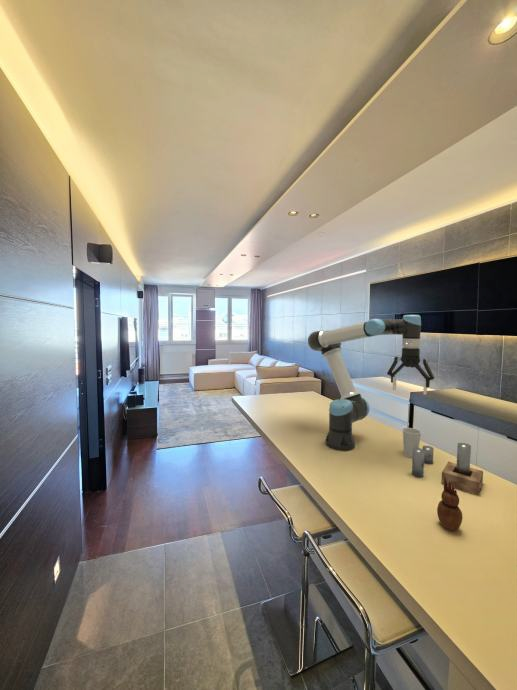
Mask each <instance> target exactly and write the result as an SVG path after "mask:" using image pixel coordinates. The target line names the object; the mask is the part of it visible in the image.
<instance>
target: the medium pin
mask: <svg viewBox="0 0 517 690" xmlns="http://www.w3.org/2000/svg"><path fill="white" fill-rule="evenodd" d="M424 452H425V451H424V450H423V448H421V447H419V448H413V454H412V457H411V460H412V461H411V475H412V476H413V477H415V478H418V479H419V478H420V479H421V478H423V477H424V474H425V472H424V471H425V470H424V469H425V463H424Z"/></svg>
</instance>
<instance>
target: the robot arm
mask: <svg viewBox="0 0 517 690" xmlns="http://www.w3.org/2000/svg"><path fill="white" fill-rule="evenodd" d="M421 329H422V318H421V315H419V314H404V315H403V316H402V318H401V319H399V318H398V319H395V318H394V319H393V318H389V319H388V318H371V319H369V320H368V321H364V322H359V323H354V324H351V325H347V326H343V327H339V328H334V329H330V330H323V329H322V330H317V331H313V332H311V333H310V334H309V335H308V338H307V344H308V347H309V348H310V349H311V350H313V351H316V352H320V353H321V355H322V357H324V358H326V360H327V361H326V362H327V363H328V366H329V368H330V371H331V374H332V376H333V378H334V381H335V383H336V386H337V388H338V391H339V393H340V398H339V399H334V400H332V401H331V402H330V403H329V407H328V411H329V414H328V415H329V416H328V418H329V423H328V425H329V426H328V432H327V434H326V438H325V446H326V447H328V448H329V449H332V450H336V451H340V452H341V451H343V452H347V451H351V450H354V449H355V448H356V440H355V438H354V435H353V423H356V422H358V421H361V420H363V419H365V418H366V417H367V416H368V415H369V412H370V404H369V402H368V401H367V400H366V398H363V397H362V395H361V393H360V392H358V391H357V390H356V388H355V386H354V382H353V380H352V378H351V376H350V374H349V370H348V369H347V366H346V363H345V361H344V359H343V356H342V354H341V351H342V346H341V345H342V343H345V342H350V341H355V340H360V339H365V338H370V337H371V338H372V337H375V336H376V337H377V336H383V335H384V336H385V335H386V336H388V335H389V336H390V335H391V336H392V335H397V336H398V335H399V336H400V335H402V339H401V341H402V343H401V346H402V348H401V357H400V356H394V358H393V362H392V364H391V365H390V367H389V369H388V370H387V372H386V374H387V375H388V376H389V377H390V383H392V391H396V390H397V374H398V373H399V372H400V371H401V370H402V369H403V368H404V367H406V368H412V369H413V368H415V369H416V370H417V371H418V373H420V375H421V376H422V377H423V379H424V380H423V395H424V396H426V395H427V394H428V388H430V383H431V382H430V381H433V380H434V379H435V376H434V374H433V372H432V370H431V368H430V366H429V364H428V358H420V354H421V353H420V352H421V349H420V347H421V332H422V331H421ZM400 361H401V364H400V365H399V366H398V367H397V364H398V362H400ZM420 363H422V364H423V366H424V369H425V371H424V369H423V368H422V367H421V365H420ZM396 367H397V368H396ZM395 368H396V369H395ZM394 369H395V370H394Z"/></svg>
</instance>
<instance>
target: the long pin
mask: <svg viewBox="0 0 517 690" xmlns="http://www.w3.org/2000/svg"><path fill="white" fill-rule="evenodd" d="M456 447H457V449H456V464H457V466H456V473H459V474H462V475H466V476H469V475H470V468H471V455H472V453H471V452H472V445H471V444H469V443H465V442H458V443H457V446H456Z"/></svg>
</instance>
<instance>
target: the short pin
mask: <svg viewBox="0 0 517 690" xmlns="http://www.w3.org/2000/svg"><path fill="white" fill-rule="evenodd" d="M422 449H423V450H424V451H425V452H424V465H425V464H426V465H433V464H434V451H435V450H434V447H432V446H430V445H423V446H422Z"/></svg>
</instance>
